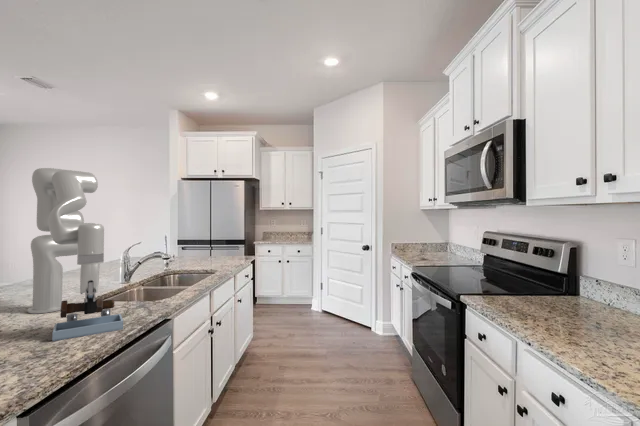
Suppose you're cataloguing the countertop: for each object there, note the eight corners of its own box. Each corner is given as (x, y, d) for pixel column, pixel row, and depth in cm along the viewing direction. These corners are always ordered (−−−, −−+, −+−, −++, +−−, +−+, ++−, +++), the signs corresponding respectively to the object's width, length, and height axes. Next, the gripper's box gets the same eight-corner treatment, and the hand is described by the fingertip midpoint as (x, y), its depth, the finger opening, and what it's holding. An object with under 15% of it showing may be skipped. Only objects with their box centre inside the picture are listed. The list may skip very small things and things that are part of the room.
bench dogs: (66, 327, 114) (67, 314, 114) (110, 320, 122) (110, 308, 122) (66, 329, 112) (66, 316, 112) (110, 322, 120) (110, 310, 120)
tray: (54, 332, 109) (54, 323, 109) (120, 321, 121) (120, 313, 121) (52, 341, 101) (52, 332, 101) (123, 329, 113) (123, 320, 113)
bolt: (113, 314, 115) (60, 321, 105) (113, 305, 118) (61, 310, 109) (115, 302, 112) (60, 308, 103) (114, 292, 116) (61, 297, 107)
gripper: (77, 257, 116) (76, 307, 116) (76, 263, 102) (75, 319, 102) (102, 256, 120) (101, 304, 120) (104, 261, 107) (104, 315, 106)
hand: (89, 310), depth 111 cm, fingers closed on bolt, 5 cm apart
